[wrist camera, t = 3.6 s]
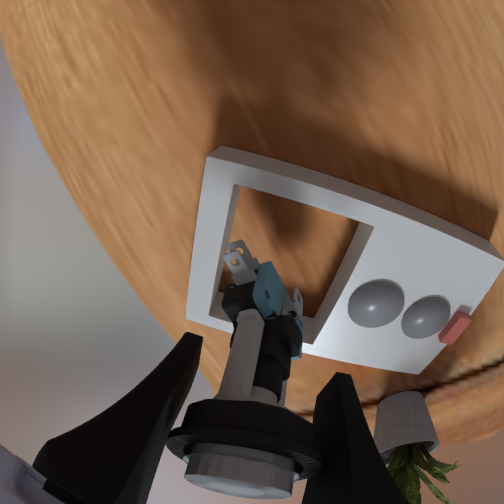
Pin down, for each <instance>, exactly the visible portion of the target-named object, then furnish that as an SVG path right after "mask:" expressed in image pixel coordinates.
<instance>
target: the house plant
mask: <svg viewBox="0 0 504 504" xmlns="http://www.w3.org/2000/svg"><path fill="white" fill-rule="evenodd" d="M373 440H374V442H375V444H376V447H377V449H378V451H379V453H380V455H381V458H382V460H383V461H384V463H385V465H389V466H388V468H387V469H388V471H389V473H390V474H391V476H392V478H393V479H394V481H395V483H396V484H397V486H398V487H399V489H400V490H401V492H402V493H403V495H404V496H405V497H406V499H407V500H408V501H409V503H410V504H421V494H420V492H419V491H420V479H419V477H420V478H421V479H422V480H423V481H424V483H425V484H426V485H427V486H428V487H429V489H430V490H431V491H432V493H433V494H434V495H435V496H436V497H437V498H438V499H439V500H441V501H442V502H444V503H445V504H454V503H453V502H451V501H450V500H449V499H447V498H446V497H445V496H444V495H443V494H442V493H441V492H440V490H439V489H438V488H437V487H436V486H435V485H434V484H433V483H432V482H431V481H430V480H429V479H428V477H427V476H426V475H425V474H424V473H423V472H422V471H421V469H420V468H422V469H423V470H425V471H427V472H428V473H429V474H431V475H432V476H433V477H434V478H436V479H438V480H439V481H441V482H443V483H445V484H448V483H449V481H448V480H447V478H446V476H445V475H444V474H442V473H447V472H449V471H450V470H453V469H455V468H457V467H459V465H455V463H456V462H457V461H456V462H455V463H454V464H453V465H450V464H445V463H442V462H439V461H437V460H435V459H434V458H433V457H432V456H431V455H430V453H431V452H433V451H434V450H436V449H437V447H438V446H439V440H438V437H437V434H436V431H435V428H434V425H433V422H432V420H431V417H430V414H429V411H428V408H427V406H426V403H425V400H424V398H423V395H422V394H421V393H419V392H415V391H405V392H399V393H396V394H393V395H390V396H388V397H386V398H385V399H383V400H382V401H381V402H380V403H379V404H378V407H377V415H376V423H375V430H374V437H373ZM423 456H425V458H426V459H427V461H428V462H427V461H426V460H425V459H424V457H423ZM430 463H431V464H432V465H431V464H430ZM418 466H419V467H420V468H419V467H418ZM435 467H436V468H438V469H440V470H437V469H436V468H435Z"/></svg>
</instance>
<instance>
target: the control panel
mask: <svg viewBox="0 0 504 504" xmlns="http://www.w3.org/2000/svg"><path fill="white" fill-rule="evenodd" d="M241 186H245V187H248V188H252V189H256V190H259V191H263V192H266V193H270V194H273V195H277V196H280V197H284V198H287V199H291V200H294V201H297V202H301V203H304V204H307V205H310V206H314V207H317V208H320V209H323V210H326V211H330V212H333V213H336V214H339V215H342V216H345V217H348V218H351V219H354V220H357V221H360V223H359V225H358V227H357V229H356V232H355V234H354V236H353V239H352V241H351V243H350V245H349V247H348V250H347V252H346V254H345V256H344V258H343V260H342V263H341V265H340V267H339V269H338V271H337V273H336V275H335V277H334V279H333V281H332V283H331V285H330V287H329V290H328V292H327V294H326V296H325V298H324V299H323V301H322V303H321V305H320V307H319V309H318V311H317V313H316V315H315V317H314V318H311V317H307V316H303V315H301V316H302V321H303V325H304V331H303V343H302V352H303V353H307V354H312V355H316V356H320V357H325V358H329V359H334V360H338V361H343V362H348V363H353V364H358V365H363V366H369V367H374V368H380V369H385V370H391V371H397V372H404V373H410V374H417V375H419V374H420V373H421V372H422V371H423V370H424V369H425V368H426V367H427V365H428V364H429V363H430V362H431V361H432V360H433V359H434V358H435V357H436V356H437V355H438V354H439V353H440V351H441V350H442V349H443V348H444V347H445V346H446V345H447V344H449V345H452V344H453V343H454V342H455V341H456V339H457V338H458V337H459V336H460V335H461V333H462V332H463V331H464V330H465V329H466V327H467V326H468V325H469V324H470V322H471V321H472V319H471V317H470V315H471V314H472V313H473V311H474V310H475V309H476V307H477V306H478V305H479V303H480V302H481V300H482V299H483V298H484V296H485V295H486V293H487V292H488V290H489V289H490V288H491V286H492V285H493V283H494V282H495V280H496V278H497V277H498V275H499V274H500V272H501V271H502V269H503V267H504V258H503V257H502V256H501V255H500V253H499V252H498V251H497V250H496V248H495V247H494V246H493V245H492V244H491V242H490V241H488V240H486V239H484V238H482V237H480V236H478V235H476V234H474V233H472V232H470V231H468V230H466V229H464V228H461V227H459V226H457V225H455V224H453V223H451V222H449V221H446V220H444V219H442V218H440V217H437V216H435V215H433V214H431V213H428V212H426V211H424V210H421V209H419V208H417V207H414V206H412V205H409V204H407V203H404V202H402V201H399V200H397V199H394V198H392V197H389V196H387V195H384V194H381V193H379V192H376V191H373V190H371V189H368V188H365V187H362V186H360V185H357V184H354V183H351V182H348V181H345V180H342V179H339V178H336V177H333V176H330V175H327V174H324V173H321V172H318V171H315V170H311V169H308V168H305V167H302V166H298V165H295V164H291V163H288V162H284V161H281V160H277V159H274V158H270V157H266V156H263V155H259V154H255V153H251V152H247V151H243V150H239V149H235V148H231V147H227V146H220V147H219V148H217V149H216V150H215V151H213V152H212V153H211V154H209V155H208V156H207V159H206V165H205V170H204V177H203V183H202V189H201V195H200V202H199V209H198V216H197V223H196V230H195V238H194V245H193V253H192V261H191V270H190V279H189V288H188V298H187V308H186V319H188V320H191V321H194V322H197V323H200V324H203V325H206V326H209V327H213V328H216V329H219V330H222V331H226V332H229V333H233V330H234V328H233V323H232V322H231V320H230V319H229V317H228V316H227V315H226V313H225V312H224V310H223V308H222V299H223V296H224V294H225V293H222V292H219V287H220V282H221V277H222V272H223V267H224V262H225V260H224V258H223V256H224V254H226V253H227V248H228V243H229V238H230V234H231V229H232V224H233V220H234V215H235V210H236V206H237V201H238V197H239V192H240V188H241Z"/></svg>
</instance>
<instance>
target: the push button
mask: <svg viewBox="0 0 504 504" xmlns="http://www.w3.org/2000/svg"><path fill="white" fill-rule="evenodd" d="M238 247H239V248H242V249H243V250H244V253H243V254H240V252H239V251H237V250H236V251H235V249H236V248H238ZM228 248H229V250H230V251H231V252H230V253H227V254H224V256H223V258H224V260H225V262H226V263H227V265H228V267H229V268H230V270H231V272H232V273H233V275H231V277H232V279H233V280H234V284H230V285H228V286H227V288H226V291H225V294H224V296H223V299H222V308H223V310H224V312H225V313H226V315H227V316H228V317H229V319H230V320H231V322H232V323H233V328H234V330H233V333H232V337H231V342H230V349H231V350H230V354H229V358H228V361H227V365H226V368H225V372H224V375H223V379H222V382H221V386H220V389H219V392H218V393H217V395H216V396H215V397H214V398H213V399H205V400H202V401H198V402H195V403H192V404H190V405H189V406H188V408H187V411H186V414H185V417H184V420H183V422H182V425H181V427H178V428H175V429H173V430H171V431H170V432H169V435H168V437H167V440H166V446H167V448H168V449H169V450H170V451H171V452H172V453H173V454H174V455H176V456H177V457H179V458H180V459H182V460H184V461H185V462H186V463H187V464H188V465H187V469H186V472H185V475H184V478H185V479H186V480H187V481H189V482H191V483H192V484H194V485H197V486H200V487H202V488H205V489H208V490H211V491H215V492H218V493H222V494H226V495H231V496H237V497H244V498H251V499H284V498H287V497H290V496H291V495H292V488H293V483H294V482H295V481H297V480H302V479H306V478H310V477H313V476H315V475H317V474H318V473H319V472H321V470H322V460H323V459H322V456H321V454H320V453H319V452H317V431H316V426H315V425H314V424H312V423H310V422H308V421H307V420H305V419H303V418H301V417H300V416H298V415H297V414H295V413H294V412H292V411H291V410H289V409H287V408H286V407H284V404H285V395H286V387H287V379H288V378H289V376H290V366H291V360H293V359H299V358H301V355H302V343H303V331H304V325H303V321H302V316H301V315H303V299H302V296H301V294H300V292H299V290H298V288H297V286H295V287H294V295H293V301H294V303H293V302H292V300H291V299H290V297H289V295H288V293H287V291H286V289H285V287H284V285H283V283H282V281H281V279H280V277H279V275H278V273H277V271H276V270H275V268H274V266H273V264H272V262H271V261H268V262H265V263H262V264H259V262H258V260H257V258H256V257H255V258H253V257H252V256H251V254H250V252H249V250H248V248H247V247H246V245H245V243H244V241H243V240H238V241H235V242H232V243H230V244H229V245H228ZM234 258H235V260H236V262H237V263H236V264H235V265H233V264H232V263H231V260H232V259H234ZM297 295H298V297H299V301H298V297H297Z"/></svg>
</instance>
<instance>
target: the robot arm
mask: <svg viewBox="0 0 504 504" xmlns="http://www.w3.org/2000/svg"><path fill="white" fill-rule="evenodd" d="M202 341H203V337H202V336H199V335H196V334H193V333H190V332H186V333H185V334H184V335H183V336H182V338H181V339H180V341H179V342H178V343H177V344H176V346H175V347H174V348H173V349H172V350H171V352H170V353H169V354H168V355H167V356H166V357H165V358H164V360H163V361H162V362H161V363H160V364H159V365H158V366H157V367H156V368H155V369H154V370H153V371H152V372H151V373H150V374H149V375H148V376H147V377H146V378H145V379H144V380H143V381H141V382H140V383H139V384H138V385H137V386H136V387H135V388H134V389H132V390H131V391H130V392H129V393H128V394H126V395H125V396H124V397H123V398H121V399H120V400H119V401H117V402H116V403H115V404H113V405H112V406H111V407H109V408H108V409H106V410H105V411H103V412H102V413H100V414H99V415H97V416H96V417H94V418H92V419H91V420H89V421H87V422H85V423H83V424H82V425H80V426H78V427H76V428H75V429H73V430H71V431H68V432H66V433H64V434H62V435H60V436H57V437H56V438H53V439H51V440H48V441H47V442H46V443H45V445H44V446H43V447H42V448H41V450H40V451H39V453H38V455H37V457H36V459H35V461H34V463H33V465H32V466H33V467H32V466H31V465H29V464H28V463H27V462H25V461H24V460H23V459H21V458H20V457H18V456H16V455H14V454H13V453H11V452H10V451H8V450H7V449H6V448H5V447H3V446H2V445H0V504H146V502H147V499H148V495H149V492H150V489H151V486H152V482H153V479H154V476H155V473H156V470H157V467H158V464H159V461H160V458H161V455H162V452H163V449H164V446H165V444H166V440H167V437H168V435H169V432H170V431H171V429H172V427H173V425H174V422H175V420H176V418H177V416H178V414H179V412H180V410H181V408H182V406H183V403H184V401H185V399H186V397H187V395H188V393H189V391H190V388H191V386H192V383H193V380H194V378H195V375H196V372H197V369H198V366H199V360H200V354H201V348H202ZM313 424H314V425H315V426H316V431H317V452H319V453H320V454H321V456H322V459H323V460H322V470H321V472H319V473H318V474H317V475H315V476H313V477H310V478H308V479H307V483H306V488H305V492H304V496H303V500H302V504H410V503H409V501H408V500H407V499H406V497H405V496H404V495H403V493H402V492H401V490H400V489H399V487H398V486H397V484H396V483H395V481H394V479H393V478H392V476H391V474H390V473H389V471H388V469H387V467H386V465H385V463H384V461H383V460H382V458H381V455H380V453H379V451H378V449H377V447H376V444H375V442H374V440H373V437H372V435H371V432H370V430H369V427H368V424H367V422H366V419H365V416H364V413H363V410H362V408H361V405H360V402H359V399H358V395H357V392H356V389H355V386H354V383H353V380H352V377H351V375H350V374H345V373H339V372H336V373H335V375H334V376H333V377H332V378H331V380H330V381H329V382H328V383H327V385H326V386H325V387H324V388H323V389H322V391H321V392H320V393H319V394H318V395H317V398H316V404H315V409H314V415H313Z"/></svg>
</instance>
